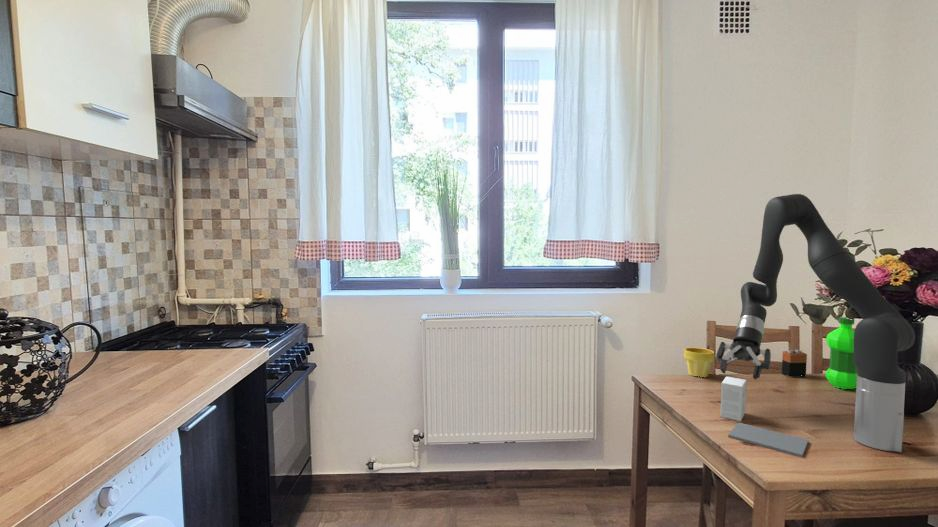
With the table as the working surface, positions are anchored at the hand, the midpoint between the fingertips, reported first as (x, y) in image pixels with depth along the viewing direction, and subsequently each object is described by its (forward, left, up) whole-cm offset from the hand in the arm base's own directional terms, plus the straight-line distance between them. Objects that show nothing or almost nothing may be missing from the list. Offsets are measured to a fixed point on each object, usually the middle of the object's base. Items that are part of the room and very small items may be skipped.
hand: (738, 375), depth 138 cm
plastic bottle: (-22, -49, -11) cm, 55 cm away
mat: (-11, +18, -11) cm, 24 cm away
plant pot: (+20, -29, -11) cm, 37 cm away
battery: (-7, -54, -11) cm, 56 cm away
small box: (0, +6, -11) cm, 13 cm away
